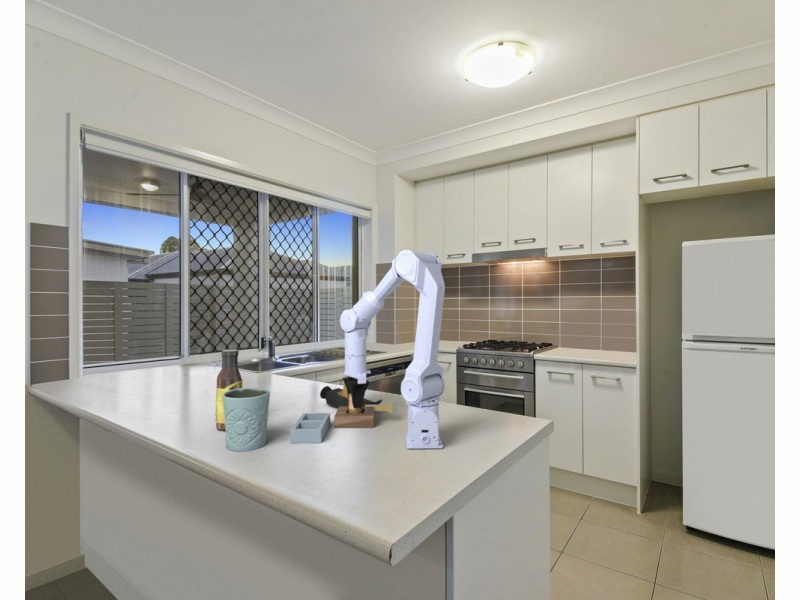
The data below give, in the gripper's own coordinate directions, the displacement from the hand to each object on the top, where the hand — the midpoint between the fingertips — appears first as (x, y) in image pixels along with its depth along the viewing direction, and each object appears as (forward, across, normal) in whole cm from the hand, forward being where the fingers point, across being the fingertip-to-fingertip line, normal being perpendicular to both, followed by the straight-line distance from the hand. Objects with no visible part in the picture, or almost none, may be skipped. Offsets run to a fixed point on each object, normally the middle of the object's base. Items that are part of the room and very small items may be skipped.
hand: (355, 405), depth 111 cm
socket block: (+4, 0, 0) cm, 4 cm away
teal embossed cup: (+5, -9, +27) cm, 29 cm away
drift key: (+2, -2, -6) cm, 6 cm away
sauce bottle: (+5, +6, +32) cm, 33 cm away
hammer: (+5, +14, -2) cm, 15 cm away
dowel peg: (+4, 0, 0) cm, 4 cm away
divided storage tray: (+4, -5, +12) cm, 14 cm away
